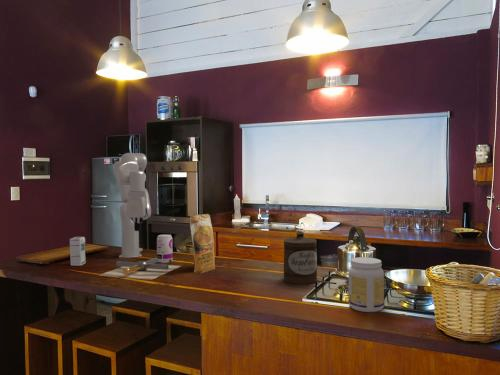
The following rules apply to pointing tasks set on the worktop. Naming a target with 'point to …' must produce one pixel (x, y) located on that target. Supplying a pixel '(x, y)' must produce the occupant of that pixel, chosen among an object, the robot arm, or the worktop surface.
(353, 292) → the supplement tub
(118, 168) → the robot arm
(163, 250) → the supplement can
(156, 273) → the striped dish towel
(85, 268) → the worktop surface
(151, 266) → the capstan
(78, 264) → the syrup box
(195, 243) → the pancake mix bag
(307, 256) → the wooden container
